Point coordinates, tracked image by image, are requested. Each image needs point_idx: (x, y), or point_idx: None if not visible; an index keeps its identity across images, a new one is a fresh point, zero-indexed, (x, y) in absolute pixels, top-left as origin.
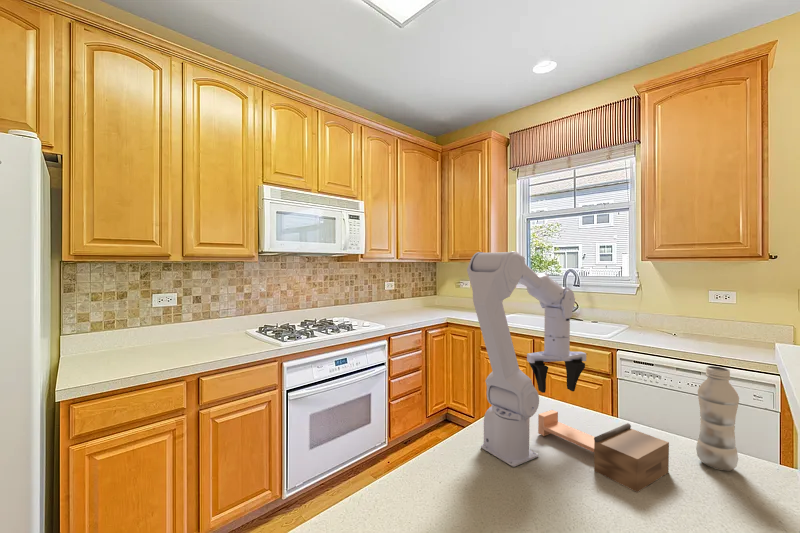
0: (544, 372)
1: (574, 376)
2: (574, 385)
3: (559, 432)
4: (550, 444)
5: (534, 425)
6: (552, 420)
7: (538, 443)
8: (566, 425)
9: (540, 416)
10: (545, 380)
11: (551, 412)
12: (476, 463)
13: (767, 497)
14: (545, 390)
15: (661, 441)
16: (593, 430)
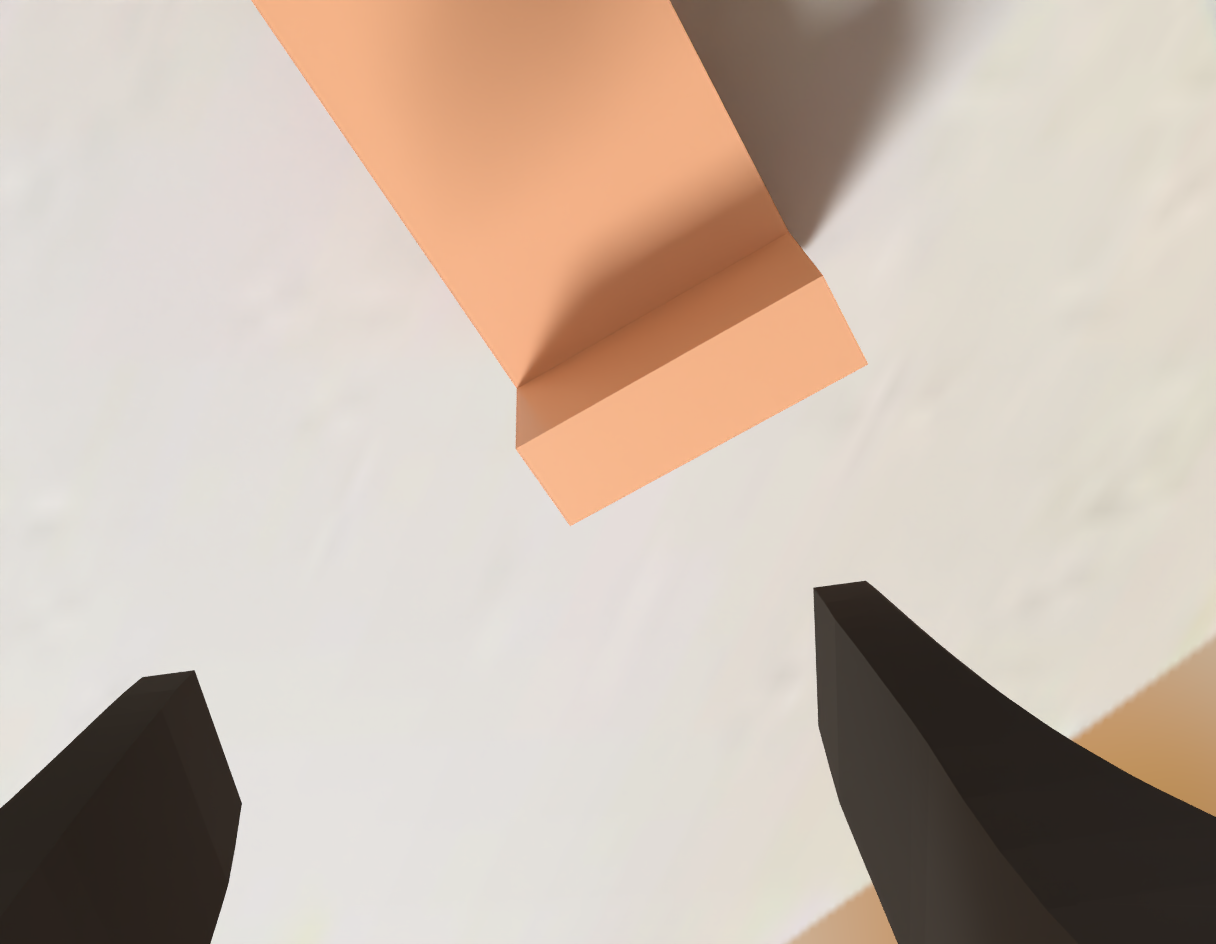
0: (1119, 866)
1: (19, 907)
2: (103, 741)
3: (653, 25)
4: (758, 5)
5: (723, 509)
6: (625, 342)
7: (902, 36)
8: (443, 267)
9: (846, 323)
10: (932, 727)
11: (626, 431)
12: None
13: None
14: (829, 604)
15: None
16: (28, 393)
